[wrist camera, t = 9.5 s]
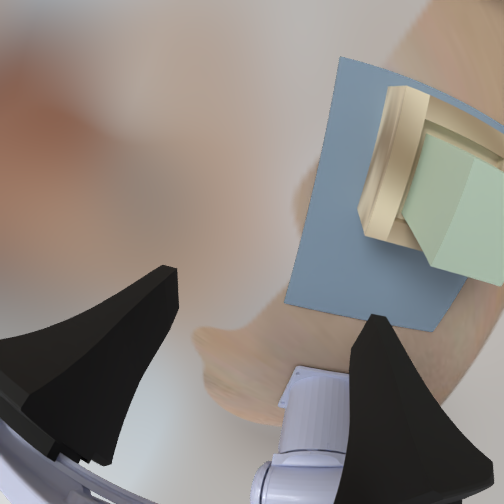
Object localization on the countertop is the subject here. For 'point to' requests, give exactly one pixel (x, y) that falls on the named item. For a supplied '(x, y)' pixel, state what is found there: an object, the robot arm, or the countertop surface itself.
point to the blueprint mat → (349, 224)
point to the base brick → (415, 156)
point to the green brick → (458, 211)
